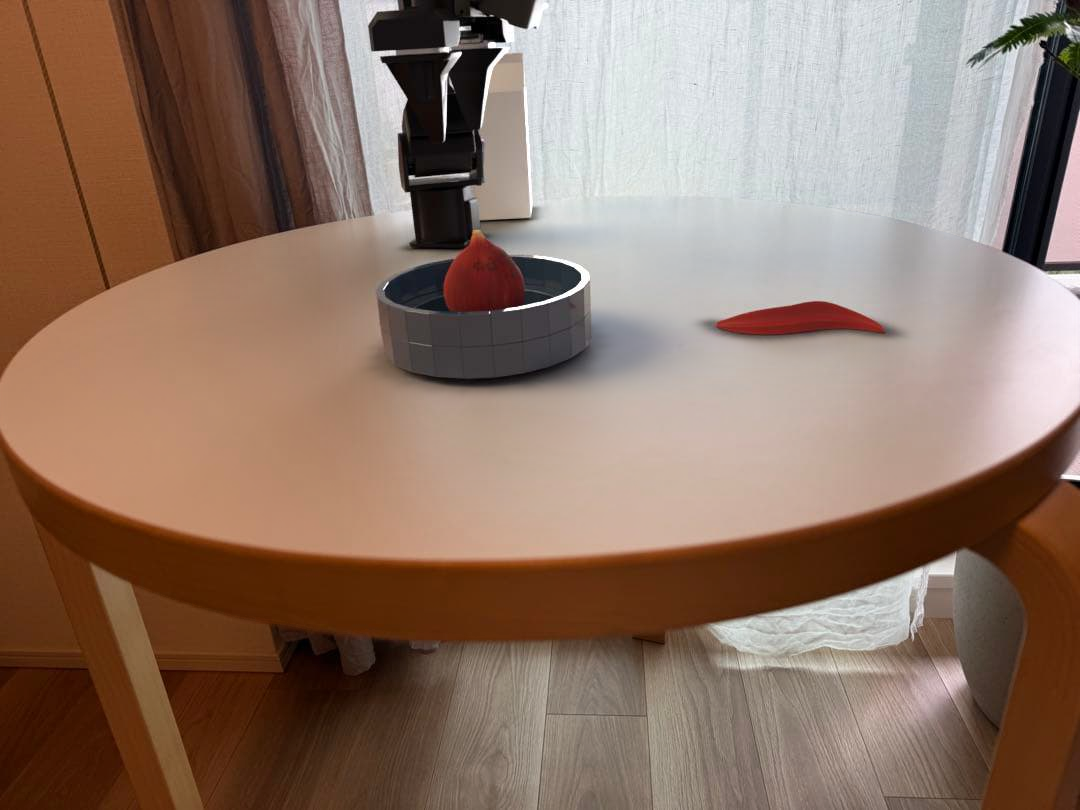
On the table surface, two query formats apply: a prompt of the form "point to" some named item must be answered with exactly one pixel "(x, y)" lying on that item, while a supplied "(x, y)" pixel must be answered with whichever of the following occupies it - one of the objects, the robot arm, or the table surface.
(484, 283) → the onion
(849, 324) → the cayenne pepper
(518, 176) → the milk carton
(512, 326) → the bowl
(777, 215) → the table surface
